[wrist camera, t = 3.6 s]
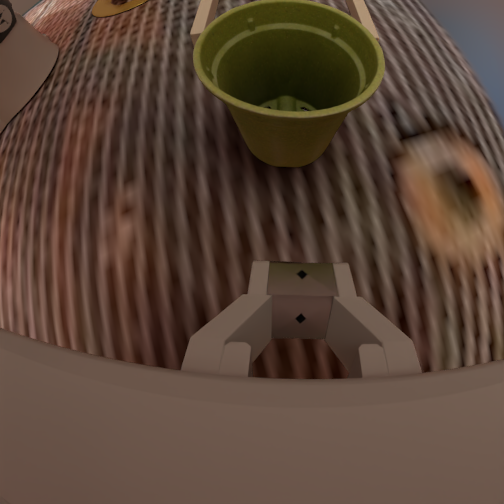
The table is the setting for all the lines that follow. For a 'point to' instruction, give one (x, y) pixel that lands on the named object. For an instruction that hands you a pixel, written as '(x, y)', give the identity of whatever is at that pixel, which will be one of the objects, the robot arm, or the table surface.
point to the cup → (113, 7)
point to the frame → (210, 3)
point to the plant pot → (288, 74)
